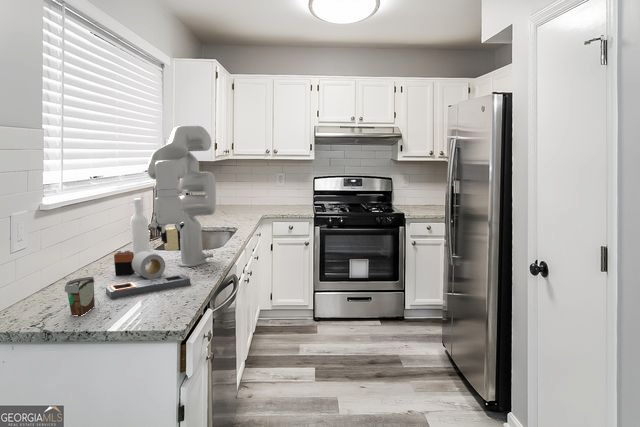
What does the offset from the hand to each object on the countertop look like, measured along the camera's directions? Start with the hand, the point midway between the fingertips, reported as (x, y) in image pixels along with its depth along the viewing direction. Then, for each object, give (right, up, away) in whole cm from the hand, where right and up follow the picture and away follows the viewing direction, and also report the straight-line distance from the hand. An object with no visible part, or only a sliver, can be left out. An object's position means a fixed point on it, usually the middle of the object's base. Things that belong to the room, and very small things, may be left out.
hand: (171, 241), depth 174 cm
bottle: (-29, -12, +46) cm, 55 cm away
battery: (-26, -15, +21) cm, 37 cm away
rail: (-7, -17, -3) cm, 19 cm away
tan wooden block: (0, -3, 0) cm, 3 cm away
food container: (-20, -21, -28) cm, 40 cm away
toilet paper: (-14, -16, +16) cm, 26 cm away
